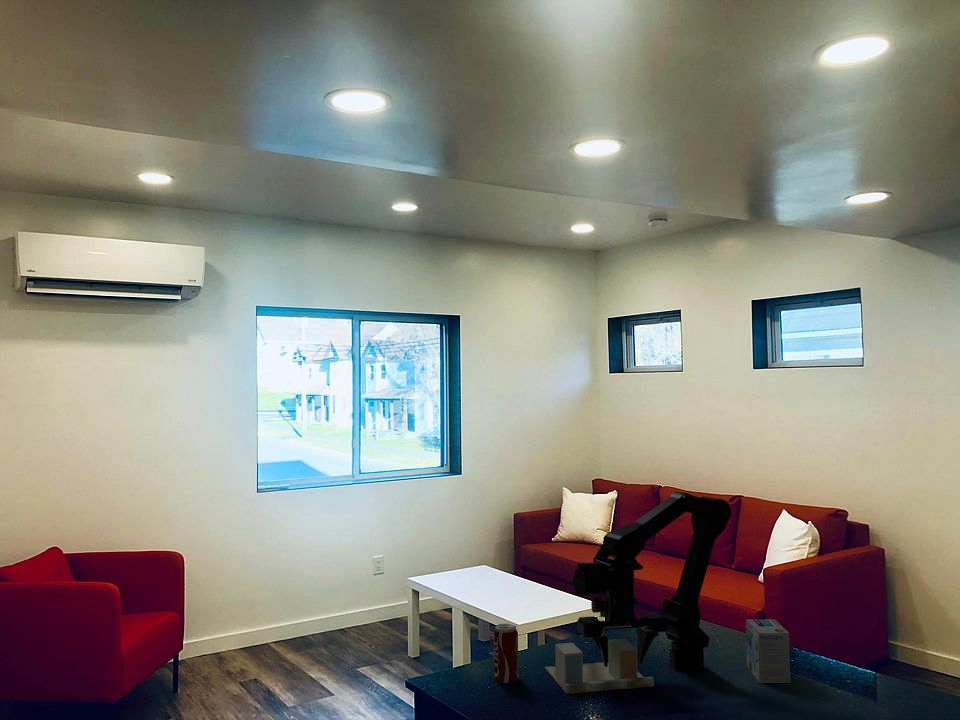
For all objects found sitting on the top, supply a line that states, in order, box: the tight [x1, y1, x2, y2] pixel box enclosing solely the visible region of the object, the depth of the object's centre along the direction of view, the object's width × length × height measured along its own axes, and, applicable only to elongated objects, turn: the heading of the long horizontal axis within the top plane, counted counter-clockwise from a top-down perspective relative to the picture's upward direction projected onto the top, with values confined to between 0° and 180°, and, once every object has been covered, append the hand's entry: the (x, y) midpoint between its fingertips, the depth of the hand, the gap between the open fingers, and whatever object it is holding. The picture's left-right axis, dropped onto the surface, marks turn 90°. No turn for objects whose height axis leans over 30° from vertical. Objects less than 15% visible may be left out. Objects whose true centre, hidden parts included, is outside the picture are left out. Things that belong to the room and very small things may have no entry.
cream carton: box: [554, 642, 584, 688], centre depth 161 cm, size 4×7×7 cm, turn 11°
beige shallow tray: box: [544, 661, 655, 694], centre depth 165 cm, size 19×16×2 cm
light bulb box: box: [745, 618, 791, 684], centre depth 167 cm, size 11×7×11 cm, turn 175°
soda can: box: [493, 623, 519, 684], centre depth 164 cm, size 5×5×12 cm
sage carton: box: [608, 638, 638, 679], centre depth 164 cm, size 4×7×7 cm, turn 11°
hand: (622, 665), depth 164 cm, fingers open, 7 cm apart
